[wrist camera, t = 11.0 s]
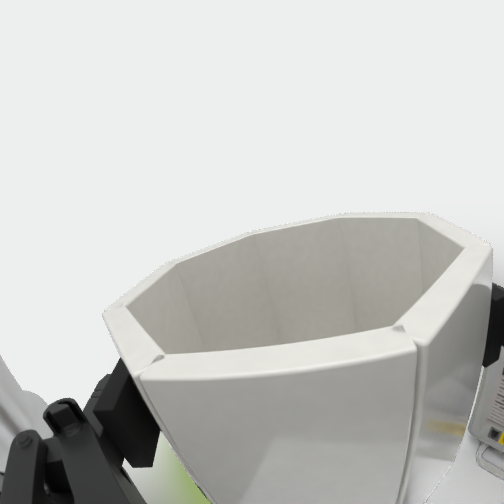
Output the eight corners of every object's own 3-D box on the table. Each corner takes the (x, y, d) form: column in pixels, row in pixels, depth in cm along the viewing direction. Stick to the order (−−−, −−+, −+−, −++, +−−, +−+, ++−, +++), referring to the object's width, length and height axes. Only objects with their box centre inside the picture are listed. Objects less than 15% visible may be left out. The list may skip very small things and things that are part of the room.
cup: (175, 541, 8) (31, 369, 5) (234, 383, 18) (189, 243, 16) (472, 520, 5) (573, 294, 3) (415, 357, 15) (407, 201, 13)
